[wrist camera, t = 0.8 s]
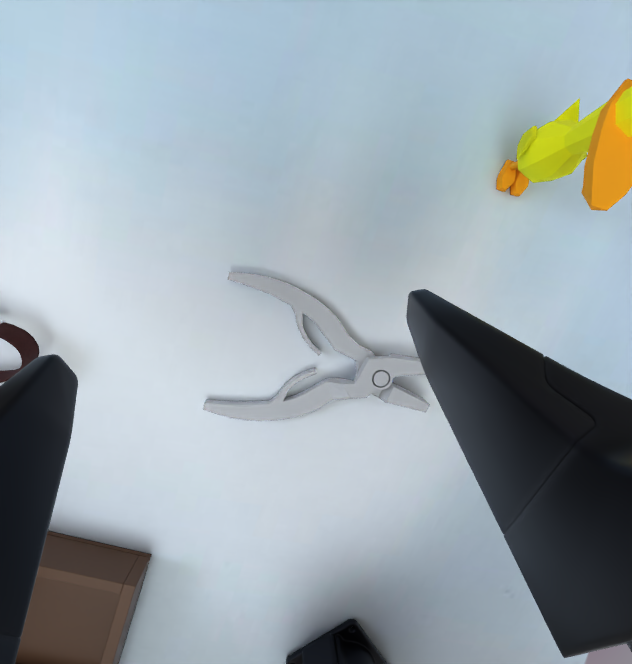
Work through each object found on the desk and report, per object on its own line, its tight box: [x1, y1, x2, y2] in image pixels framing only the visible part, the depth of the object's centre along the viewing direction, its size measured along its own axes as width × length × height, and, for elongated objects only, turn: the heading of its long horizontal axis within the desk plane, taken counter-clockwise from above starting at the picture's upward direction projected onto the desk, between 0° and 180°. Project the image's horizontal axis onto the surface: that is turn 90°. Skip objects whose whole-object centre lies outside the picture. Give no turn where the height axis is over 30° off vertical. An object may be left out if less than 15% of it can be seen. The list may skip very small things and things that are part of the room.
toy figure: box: [496, 79, 632, 211], centre depth 18 cm, size 7×4×12 cm, turn 165°
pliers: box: [203, 272, 430, 421], centre depth 24 cm, size 10×2×15 cm
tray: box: [15, 531, 151, 664], centre depth 25 cm, size 17×12×3 cm
